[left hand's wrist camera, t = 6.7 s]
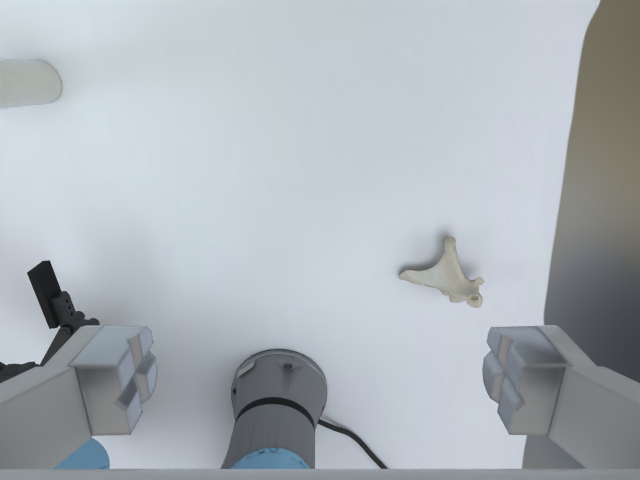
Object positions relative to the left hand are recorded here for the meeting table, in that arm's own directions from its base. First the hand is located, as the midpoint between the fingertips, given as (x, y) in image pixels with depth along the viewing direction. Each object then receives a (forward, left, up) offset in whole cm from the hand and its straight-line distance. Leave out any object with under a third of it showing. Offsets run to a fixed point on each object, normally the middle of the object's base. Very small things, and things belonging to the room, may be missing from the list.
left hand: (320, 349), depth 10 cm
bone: (+19, +17, -48) cm, 54 cm away
